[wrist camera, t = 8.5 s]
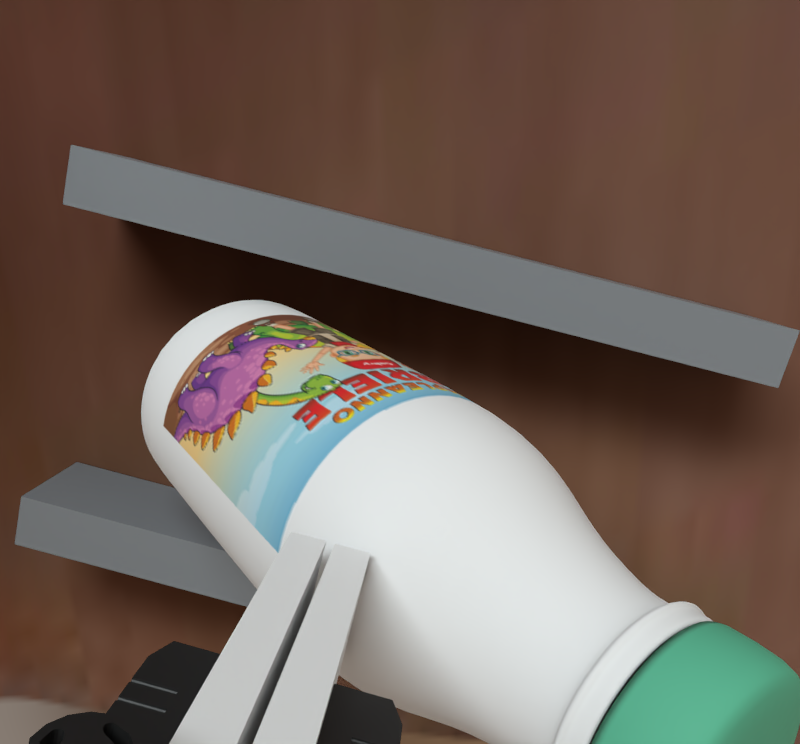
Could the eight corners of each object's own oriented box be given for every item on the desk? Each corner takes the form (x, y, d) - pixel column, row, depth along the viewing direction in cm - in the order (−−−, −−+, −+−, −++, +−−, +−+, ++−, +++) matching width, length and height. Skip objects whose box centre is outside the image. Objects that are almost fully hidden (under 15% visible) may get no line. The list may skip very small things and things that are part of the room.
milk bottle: (335, 450, 30) (814, 812, 15) (157, 518, 26) (565, 1101, 11) (318, 275, 27) (900, 513, 12) (113, 323, 23) (598, 766, 8)
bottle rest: (70, 504, 31) (14, 544, 27) (125, 156, 28) (71, 144, 24) (628, 653, 30) (654, 716, 26) (749, 315, 27) (799, 330, 23)
